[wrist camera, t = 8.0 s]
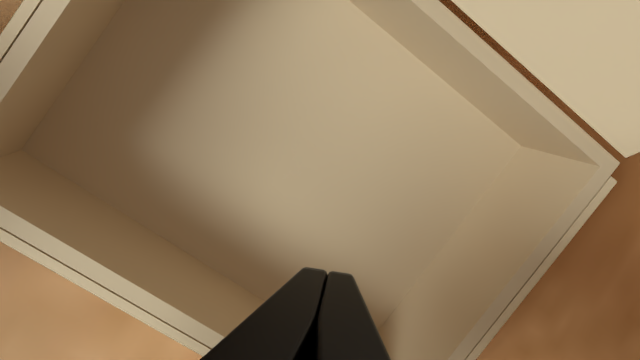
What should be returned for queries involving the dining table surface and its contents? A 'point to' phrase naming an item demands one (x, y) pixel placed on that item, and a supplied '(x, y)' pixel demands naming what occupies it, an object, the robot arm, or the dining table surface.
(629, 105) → the flap
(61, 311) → the dining table surface
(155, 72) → the carton
